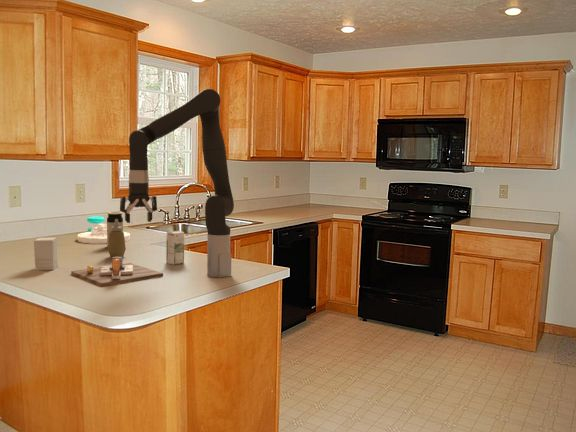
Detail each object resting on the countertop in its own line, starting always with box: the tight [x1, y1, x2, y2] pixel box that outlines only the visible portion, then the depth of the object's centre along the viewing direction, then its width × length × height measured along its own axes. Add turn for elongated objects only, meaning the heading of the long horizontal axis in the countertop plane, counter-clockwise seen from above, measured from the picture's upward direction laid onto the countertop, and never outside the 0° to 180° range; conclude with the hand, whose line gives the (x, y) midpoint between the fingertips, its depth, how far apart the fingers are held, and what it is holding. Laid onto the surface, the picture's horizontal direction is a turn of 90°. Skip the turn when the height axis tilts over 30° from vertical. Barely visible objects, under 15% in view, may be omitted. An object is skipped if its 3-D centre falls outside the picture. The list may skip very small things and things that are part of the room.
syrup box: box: [165, 230, 185, 265], centre depth 234 cm, size 6×6×14 cm
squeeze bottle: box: [107, 219, 127, 258], centre depth 244 cm, size 8×8×18 cm
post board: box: [70, 257, 164, 288], centre depth 209 cm, size 26×26×7 cm
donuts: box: [86, 215, 105, 232], centre depth 314 cm, size 10×10×10 cm
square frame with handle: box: [100, 259, 133, 279], centre depth 205 cm, size 19×12×7 cm, turn 16°
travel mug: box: [106, 211, 124, 247], centre depth 272 cm, size 8×8×18 cm
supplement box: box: [33, 237, 59, 271], centre depth 217 cm, size 7×7×13 cm
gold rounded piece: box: [86, 265, 94, 274], centre depth 205 cm, size 2×2×3 cm
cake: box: [77, 222, 131, 245], centre depth 293 cm, size 28×28×10 cm
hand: (138, 222), depth 207 cm, fingers open, 8 cm apart
